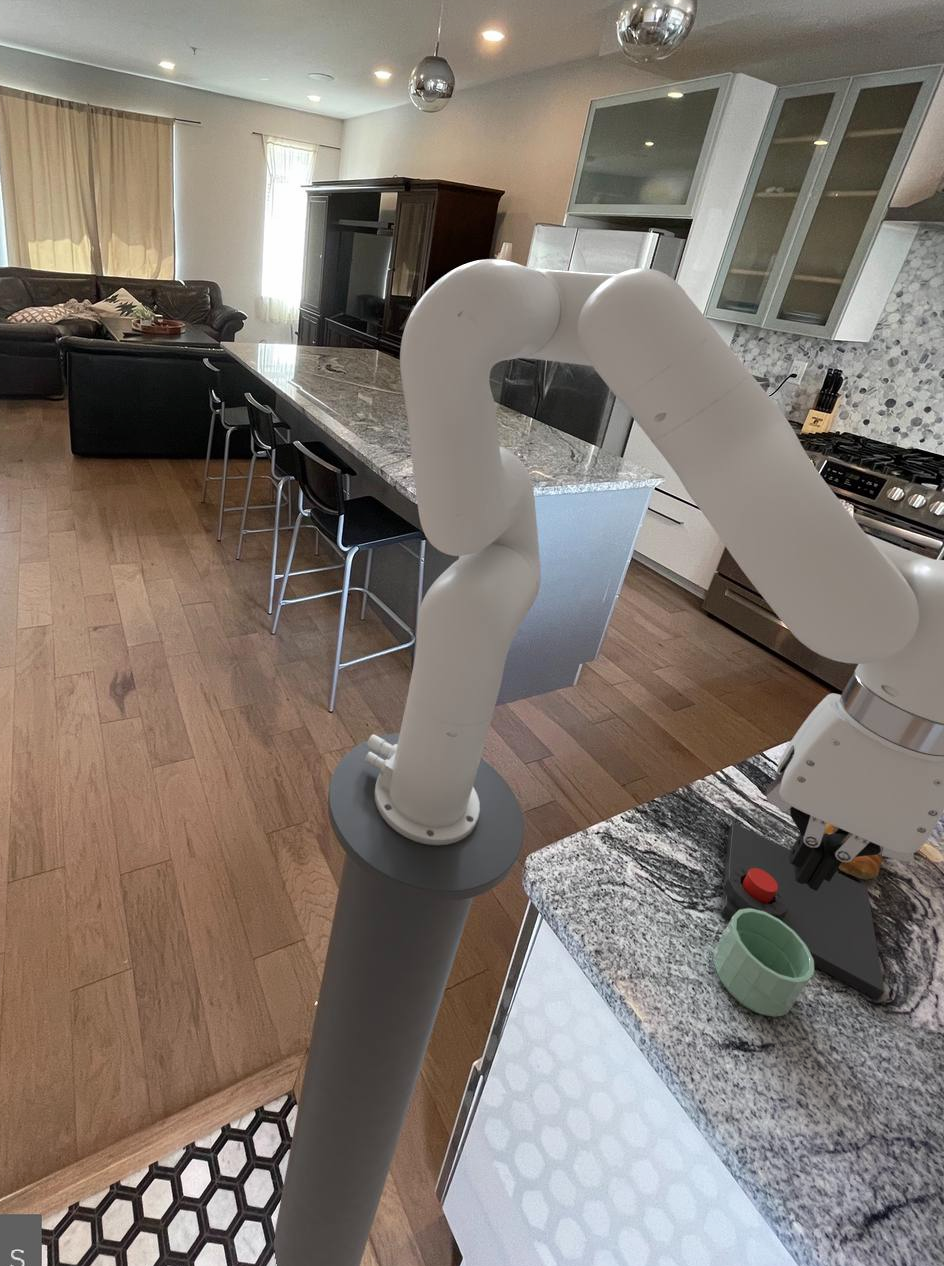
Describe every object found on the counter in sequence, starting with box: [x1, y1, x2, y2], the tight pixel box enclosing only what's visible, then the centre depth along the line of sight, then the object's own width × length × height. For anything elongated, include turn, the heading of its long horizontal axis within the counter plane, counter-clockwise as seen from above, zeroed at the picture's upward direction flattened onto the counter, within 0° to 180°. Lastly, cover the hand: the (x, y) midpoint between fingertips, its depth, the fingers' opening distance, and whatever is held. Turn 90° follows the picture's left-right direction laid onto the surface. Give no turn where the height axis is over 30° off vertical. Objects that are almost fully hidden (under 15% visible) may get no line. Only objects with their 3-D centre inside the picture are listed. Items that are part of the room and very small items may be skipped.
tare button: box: [743, 868, 778, 903], centre depth 67 cm, size 3×3×2 cm
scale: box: [720, 822, 885, 1001], centre depth 69 cm, size 14×14×3 cm
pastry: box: [823, 823, 884, 881], centre depth 77 cm, size 9×7×4 cm
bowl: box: [712, 908, 815, 1018], centre depth 59 cm, size 7×7×6 cm
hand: (804, 874), depth 57 cm, fingers closed
